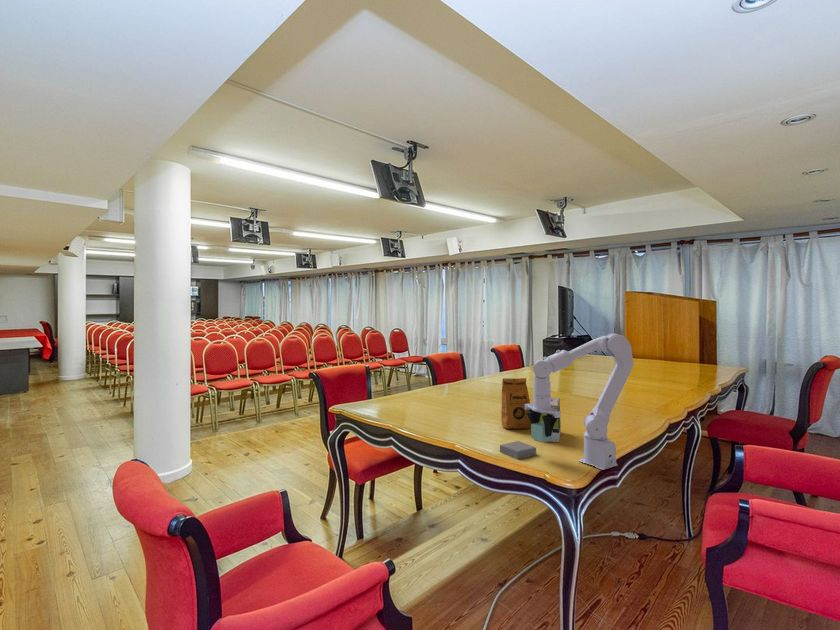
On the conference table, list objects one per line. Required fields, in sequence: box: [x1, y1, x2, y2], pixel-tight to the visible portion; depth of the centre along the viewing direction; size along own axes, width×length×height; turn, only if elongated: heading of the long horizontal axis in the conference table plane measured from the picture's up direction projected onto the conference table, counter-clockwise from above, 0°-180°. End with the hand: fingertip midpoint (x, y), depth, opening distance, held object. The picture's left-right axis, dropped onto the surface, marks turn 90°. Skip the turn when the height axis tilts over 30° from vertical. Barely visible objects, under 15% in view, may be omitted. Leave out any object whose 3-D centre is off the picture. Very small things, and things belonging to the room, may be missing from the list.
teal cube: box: [530, 422, 553, 443], centre depth 142 cm, size 5×5×5 cm
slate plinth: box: [499, 440, 537, 460], centre depth 148 cm, size 9×9×3 cm
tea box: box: [533, 397, 562, 443], centre depth 168 cm, size 15×10×15 cm, turn 159°
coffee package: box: [500, 377, 531, 430], centre depth 181 cm, size 10×12×22 cm
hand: (542, 434), depth 142 cm, fingers closed on teal cube, 5 cm apart
